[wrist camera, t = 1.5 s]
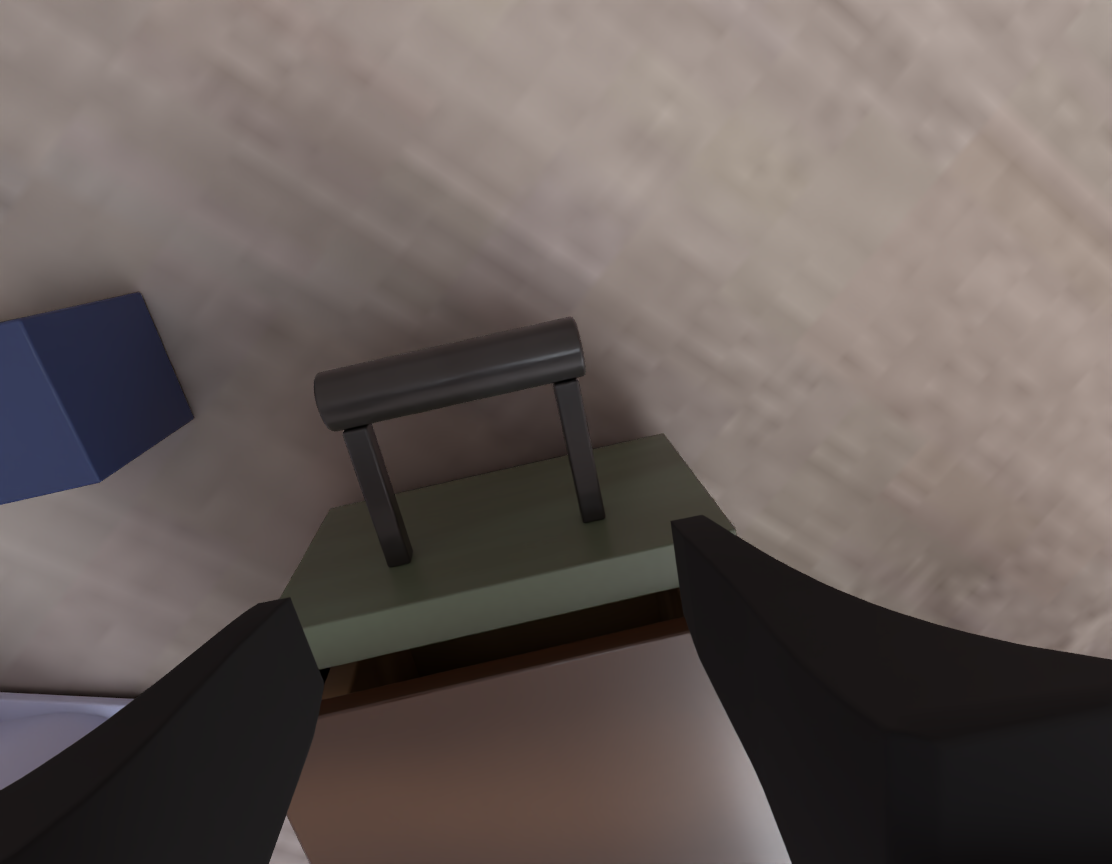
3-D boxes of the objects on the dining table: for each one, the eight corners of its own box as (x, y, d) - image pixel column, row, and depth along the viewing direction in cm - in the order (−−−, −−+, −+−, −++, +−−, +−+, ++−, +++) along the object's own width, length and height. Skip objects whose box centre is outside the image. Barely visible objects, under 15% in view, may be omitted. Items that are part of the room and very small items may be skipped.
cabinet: (335, 548, 22) (245, 733, 14) (682, 469, 22) (784, 609, 14) (437, 822, 26) (412, 1078, 18) (725, 755, 26) (820, 981, 19)
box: (195, 418, 20) (100, 482, 15) (56, 449, 20) (-83, 524, 15) (141, 291, 18) (18, 318, 14) (-9, 324, 18) (-183, 362, 14)
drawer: (273, 355, 19) (160, 426, 12) (638, 274, 19) (709, 304, 12) (432, 787, 24) (410, 984, 18) (709, 723, 25) (781, 896, 18)
